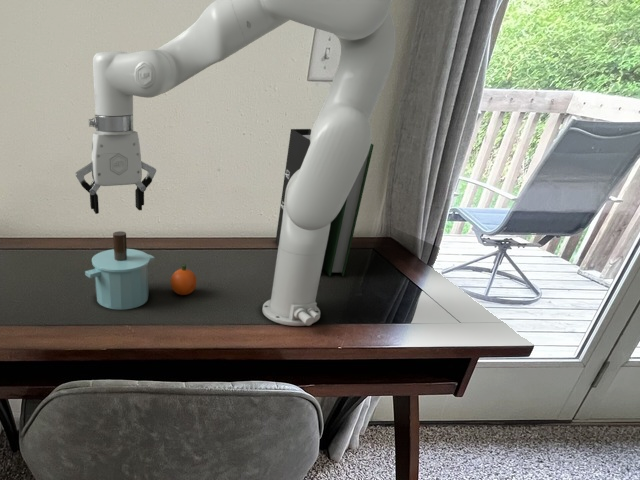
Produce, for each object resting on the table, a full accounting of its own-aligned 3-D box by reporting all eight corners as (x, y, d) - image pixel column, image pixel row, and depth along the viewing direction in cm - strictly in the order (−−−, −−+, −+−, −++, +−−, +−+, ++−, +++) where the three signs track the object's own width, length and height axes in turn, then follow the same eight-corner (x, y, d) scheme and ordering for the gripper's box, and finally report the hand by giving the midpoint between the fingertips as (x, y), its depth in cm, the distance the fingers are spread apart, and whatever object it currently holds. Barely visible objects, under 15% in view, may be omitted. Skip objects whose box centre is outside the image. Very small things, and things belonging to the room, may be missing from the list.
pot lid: (161, 265, 110) (161, 235, 106) (111, 279, 103) (109, 247, 99) (129, 249, 119) (128, 220, 115) (81, 261, 113) (78, 231, 109)
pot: (167, 297, 116) (167, 260, 111) (103, 317, 107) (101, 278, 102) (138, 280, 125) (137, 245, 120) (77, 298, 116) (74, 261, 111)
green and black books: (346, 276, 125) (377, 144, 107) (289, 275, 126) (310, 145, 108) (321, 241, 148) (343, 128, 130) (273, 241, 149) (288, 129, 131)
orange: (199, 297, 116) (201, 268, 111) (174, 300, 114) (175, 271, 110) (191, 287, 121) (192, 259, 117) (167, 290, 119) (167, 261, 115)
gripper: (74, 128, 90) (81, 218, 100) (161, 125, 94) (159, 212, 103) (69, 123, 96) (76, 208, 106) (151, 120, 100) (150, 203, 109)
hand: (117, 210), depth 105 cm, fingers open, 9 cm apart
